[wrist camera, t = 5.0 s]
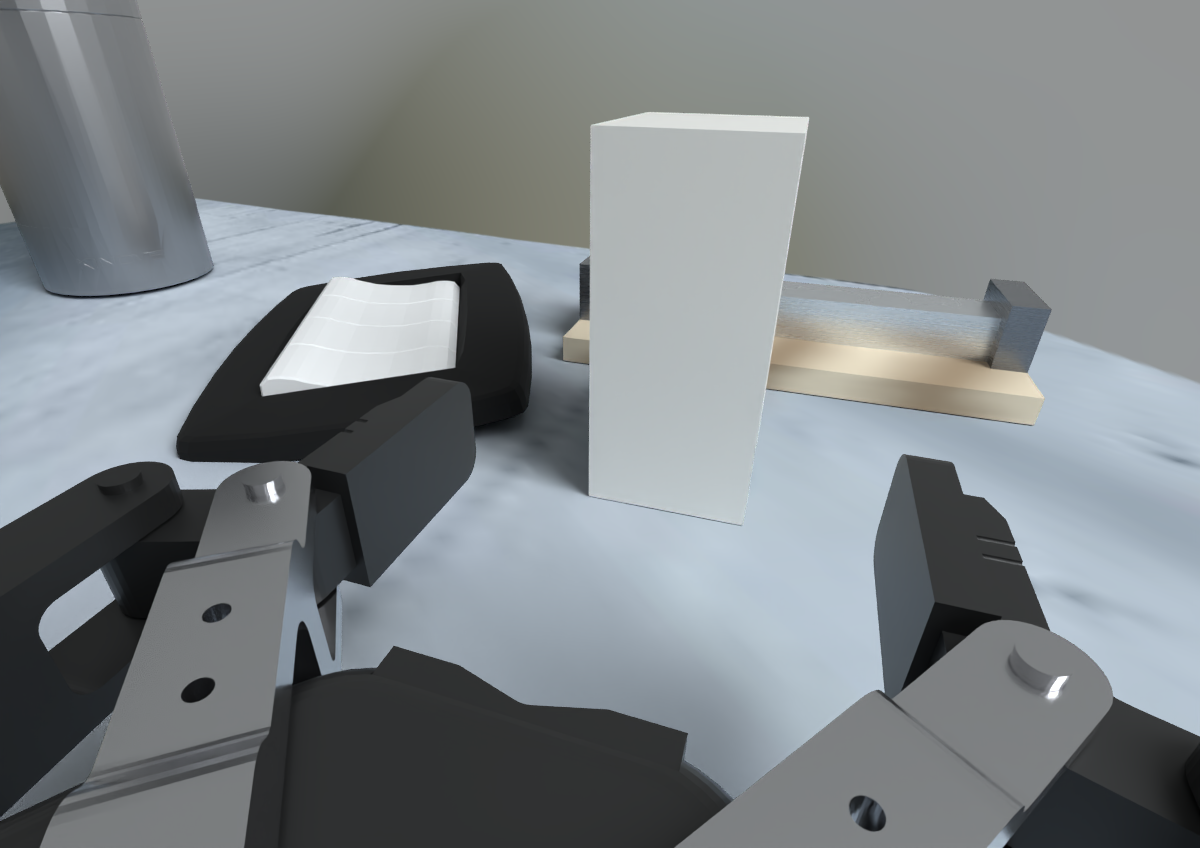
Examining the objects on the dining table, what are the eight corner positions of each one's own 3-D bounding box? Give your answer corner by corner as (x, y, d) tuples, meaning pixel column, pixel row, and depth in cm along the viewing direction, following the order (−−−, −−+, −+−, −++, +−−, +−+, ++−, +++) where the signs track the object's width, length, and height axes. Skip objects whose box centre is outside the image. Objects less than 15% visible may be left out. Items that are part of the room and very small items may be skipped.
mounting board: (563, 360, 30) (562, 336, 29) (614, 302, 38) (615, 283, 37) (1033, 425, 25) (1044, 398, 24) (984, 344, 33) (992, 322, 32)
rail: (579, 319, 32) (579, 264, 30) (602, 295, 35) (603, 245, 33) (1027, 373, 27) (1051, 309, 25) (1004, 339, 30) (1024, 282, 28)
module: (588, 495, 21) (590, 124, 15) (638, 405, 26) (652, 111, 21) (743, 525, 19) (805, 133, 14) (760, 424, 25) (809, 116, 19)
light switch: (278, 270, 37) (511, 240, 39) (294, 316, 39) (518, 285, 40) (117, 438, 20) (542, 373, 22) (157, 508, 22) (552, 443, 23)
